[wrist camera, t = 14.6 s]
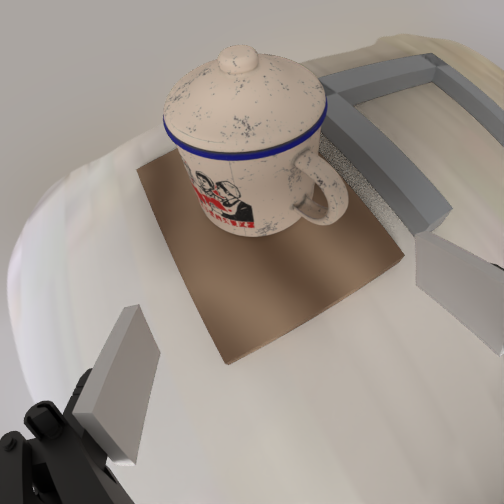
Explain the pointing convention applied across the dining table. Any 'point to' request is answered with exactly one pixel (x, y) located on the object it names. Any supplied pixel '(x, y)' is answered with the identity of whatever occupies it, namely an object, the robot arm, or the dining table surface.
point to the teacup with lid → (254, 142)
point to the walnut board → (263, 261)
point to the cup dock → (381, 147)
